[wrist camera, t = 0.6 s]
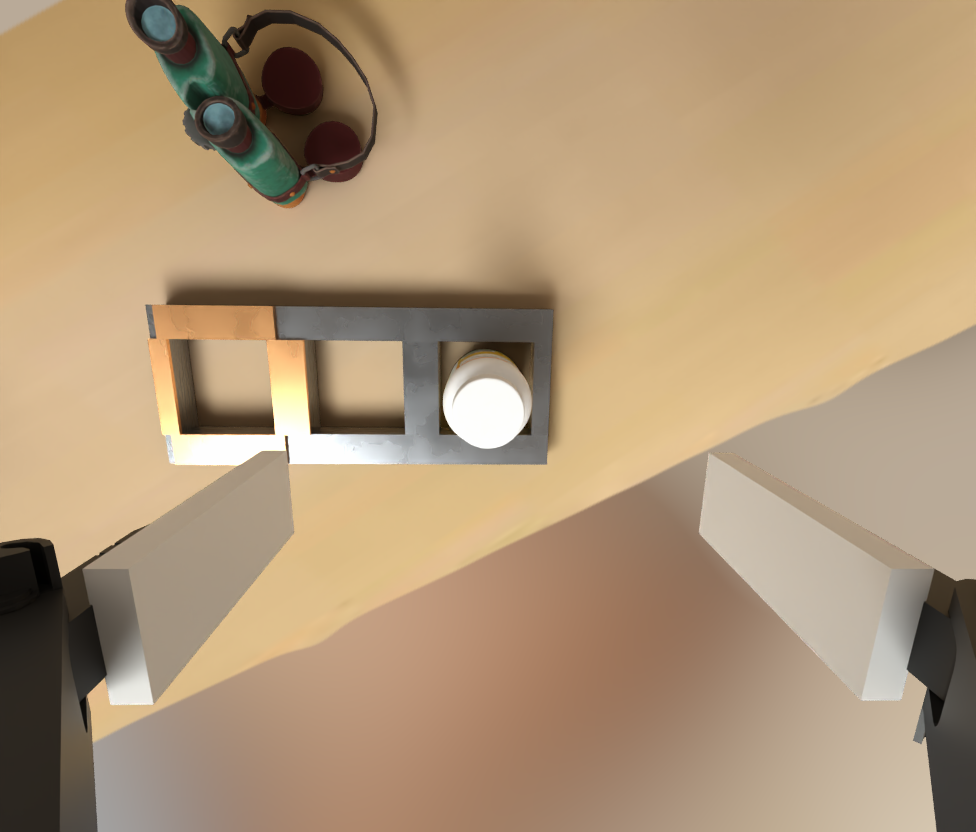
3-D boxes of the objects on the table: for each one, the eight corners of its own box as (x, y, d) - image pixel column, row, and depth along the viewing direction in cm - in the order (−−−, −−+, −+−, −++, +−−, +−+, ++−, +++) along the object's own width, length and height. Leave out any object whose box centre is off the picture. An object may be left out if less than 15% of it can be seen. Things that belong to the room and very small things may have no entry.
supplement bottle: (492, 433, 35) (498, 480, 26) (434, 392, 35) (418, 425, 25) (536, 376, 34) (558, 403, 25) (477, 333, 34) (477, 343, 24)
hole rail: (186, 454, 35) (166, 464, 33) (165, 304, 33) (142, 304, 30) (542, 455, 36) (547, 465, 34) (548, 309, 33) (554, 309, 31)
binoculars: (387, 79, 21) (198, 189, 21) (402, 160, 32) (275, 235, 32) (271, -135, 19) (63, -15, 19) (327, 26, 30) (192, 105, 30)
